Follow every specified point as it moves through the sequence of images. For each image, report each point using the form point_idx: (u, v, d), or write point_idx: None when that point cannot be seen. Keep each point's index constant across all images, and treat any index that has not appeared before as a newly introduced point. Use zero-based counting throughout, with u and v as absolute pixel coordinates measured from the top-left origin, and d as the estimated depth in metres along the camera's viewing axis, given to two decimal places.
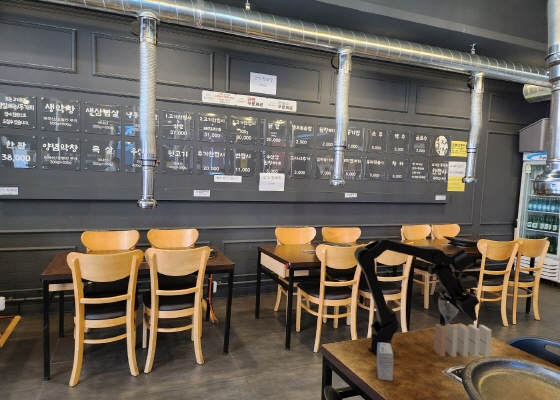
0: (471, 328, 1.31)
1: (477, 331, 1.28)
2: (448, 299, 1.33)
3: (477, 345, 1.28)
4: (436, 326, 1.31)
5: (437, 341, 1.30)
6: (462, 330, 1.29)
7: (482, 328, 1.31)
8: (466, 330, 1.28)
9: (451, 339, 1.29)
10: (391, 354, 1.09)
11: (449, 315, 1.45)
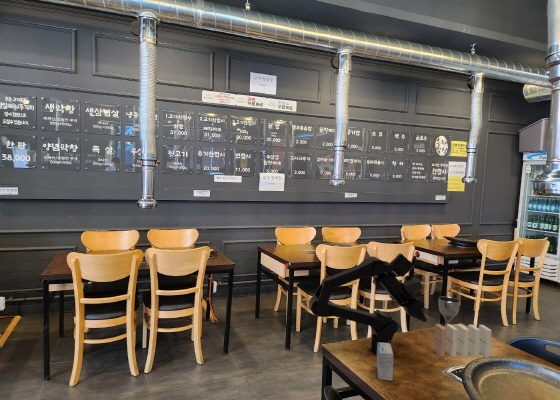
0: (471, 328, 1.31)
1: (477, 331, 1.28)
2: (399, 303, 1.34)
3: (477, 345, 1.28)
4: (436, 326, 1.31)
5: (437, 341, 1.30)
6: (462, 330, 1.29)
7: (482, 328, 1.31)
8: (466, 330, 1.28)
9: (451, 339, 1.29)
10: (391, 354, 1.09)
11: (449, 315, 1.45)
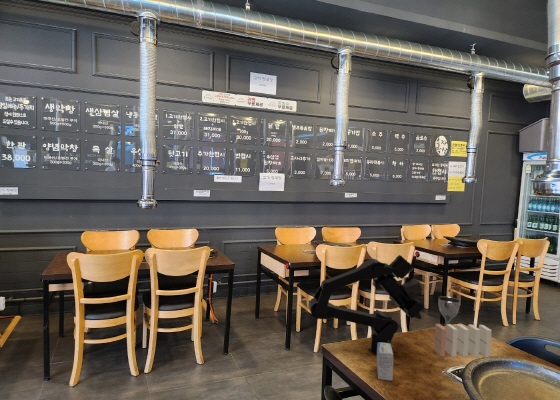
0: (471, 328, 1.31)
1: (477, 331, 1.28)
2: (404, 309, 1.30)
3: (477, 345, 1.28)
4: (436, 326, 1.31)
5: (437, 341, 1.30)
6: (462, 330, 1.29)
7: (482, 328, 1.31)
8: (466, 330, 1.28)
9: (451, 339, 1.29)
10: (391, 354, 1.09)
11: (449, 315, 1.45)
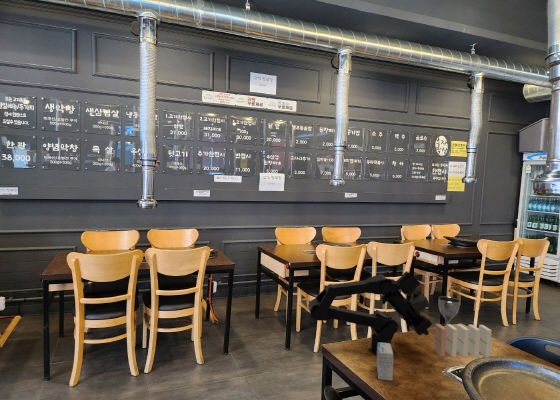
0: (471, 328, 1.31)
1: (477, 331, 1.28)
2: (411, 325, 1.30)
3: (477, 345, 1.28)
4: (436, 326, 1.31)
5: (437, 341, 1.30)
6: (462, 330, 1.29)
7: (482, 328, 1.31)
8: (466, 330, 1.28)
9: (451, 339, 1.29)
10: (391, 354, 1.09)
11: (449, 315, 1.45)
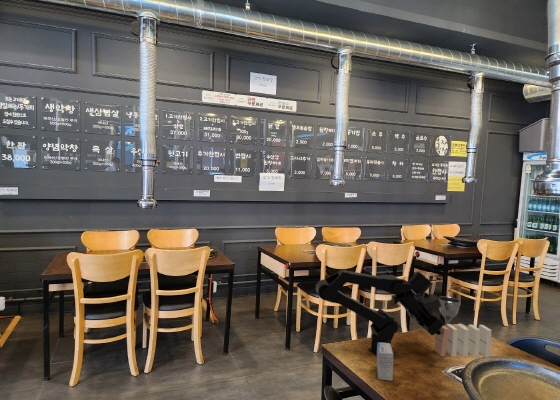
0: (471, 328, 1.31)
1: (477, 331, 1.28)
2: (423, 325, 1.30)
3: (477, 345, 1.28)
4: None
5: (438, 341, 1.30)
6: (462, 330, 1.29)
7: (482, 328, 1.31)
8: (466, 330, 1.28)
9: (451, 339, 1.29)
10: (391, 354, 1.09)
11: (449, 315, 1.45)
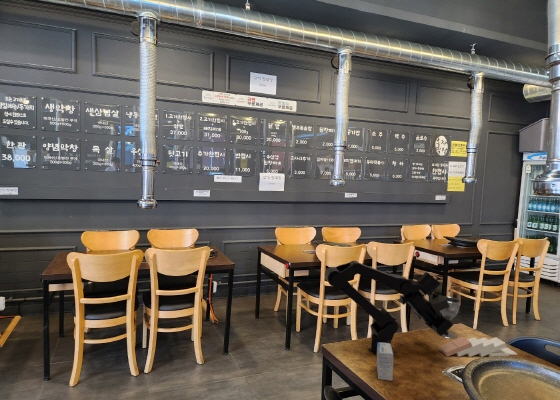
0: (498, 340, 1.32)
1: (504, 344, 1.29)
2: (430, 325, 1.30)
3: (491, 350, 1.29)
4: (463, 338, 1.32)
5: (452, 344, 1.31)
6: (488, 342, 1.30)
7: (510, 350, 1.32)
8: (493, 344, 1.29)
9: None
10: (391, 354, 1.09)
11: (449, 315, 1.45)
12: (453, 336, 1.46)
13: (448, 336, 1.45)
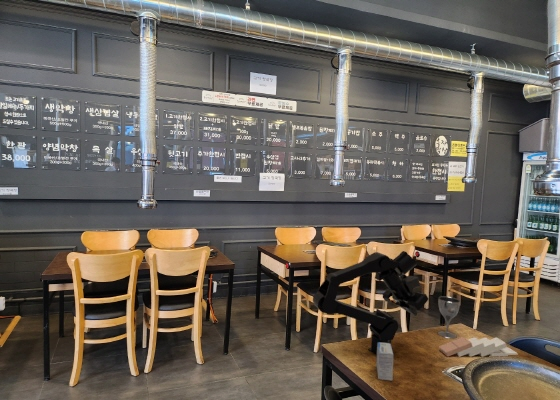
0: (498, 340, 1.32)
1: (504, 344, 1.29)
2: (402, 305, 1.30)
3: (492, 350, 1.29)
4: (463, 338, 1.32)
5: (452, 344, 1.31)
6: (489, 342, 1.30)
7: (510, 349, 1.32)
8: (493, 344, 1.29)
9: None
10: (391, 354, 1.09)
11: (449, 315, 1.45)
12: (453, 336, 1.46)
13: (448, 336, 1.45)
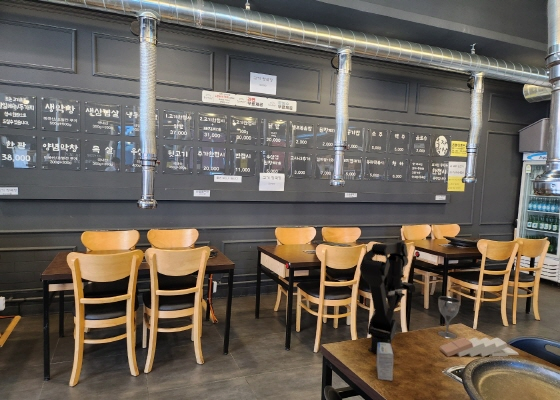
0: (499, 340, 1.32)
1: (505, 345, 1.29)
2: None
3: (492, 350, 1.29)
4: (464, 338, 1.32)
5: (453, 345, 1.31)
6: (490, 342, 1.30)
7: (511, 349, 1.32)
8: (494, 344, 1.29)
9: None
10: (391, 354, 1.09)
11: (449, 315, 1.45)
12: (453, 336, 1.46)
13: (448, 336, 1.45)
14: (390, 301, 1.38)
